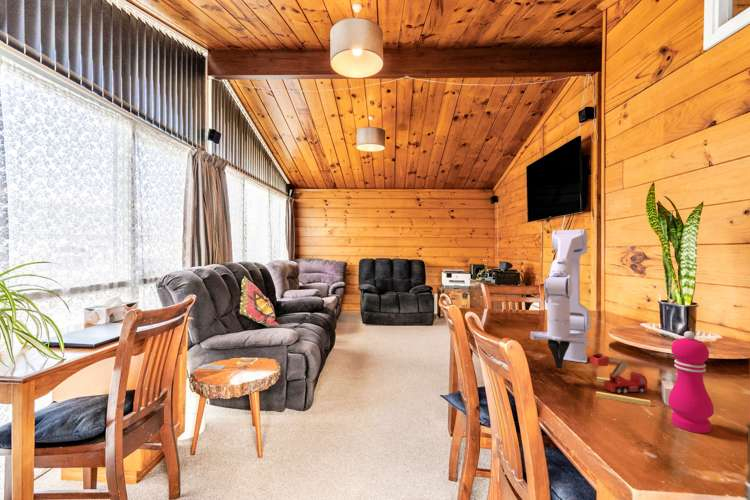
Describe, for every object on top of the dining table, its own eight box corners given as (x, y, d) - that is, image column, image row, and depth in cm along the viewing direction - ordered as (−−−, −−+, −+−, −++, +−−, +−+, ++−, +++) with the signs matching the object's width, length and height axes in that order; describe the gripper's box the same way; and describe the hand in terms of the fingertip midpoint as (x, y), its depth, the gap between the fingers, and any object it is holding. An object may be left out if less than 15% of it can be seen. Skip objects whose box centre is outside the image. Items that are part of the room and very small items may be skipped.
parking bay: (596, 396, 91) (596, 380, 91) (596, 380, 102) (596, 366, 102) (678, 411, 83) (677, 393, 83) (669, 391, 94) (668, 376, 94)
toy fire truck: (649, 392, 93) (649, 355, 93) (598, 394, 93) (597, 357, 93) (639, 387, 97) (639, 351, 97) (589, 389, 96) (589, 353, 96)
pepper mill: (659, 418, 79) (658, 328, 79) (689, 417, 80) (688, 326, 80) (691, 435, 72) (690, 336, 72) (724, 433, 73) (723, 334, 73)
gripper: (528, 319, 102) (529, 367, 102) (587, 324, 94) (588, 376, 95) (532, 315, 108) (533, 360, 108) (588, 319, 100) (589, 368, 101)
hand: (559, 367), depth 102 cm, fingers closed
